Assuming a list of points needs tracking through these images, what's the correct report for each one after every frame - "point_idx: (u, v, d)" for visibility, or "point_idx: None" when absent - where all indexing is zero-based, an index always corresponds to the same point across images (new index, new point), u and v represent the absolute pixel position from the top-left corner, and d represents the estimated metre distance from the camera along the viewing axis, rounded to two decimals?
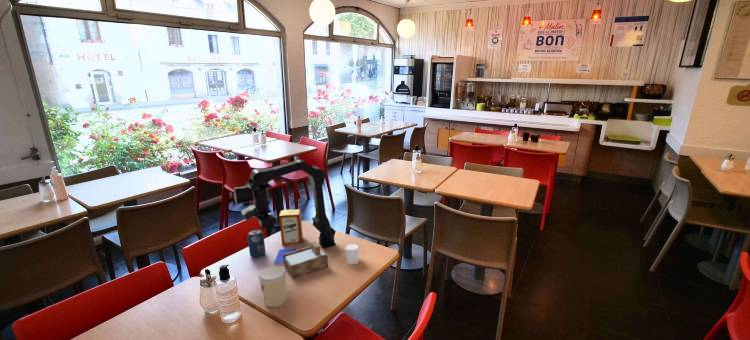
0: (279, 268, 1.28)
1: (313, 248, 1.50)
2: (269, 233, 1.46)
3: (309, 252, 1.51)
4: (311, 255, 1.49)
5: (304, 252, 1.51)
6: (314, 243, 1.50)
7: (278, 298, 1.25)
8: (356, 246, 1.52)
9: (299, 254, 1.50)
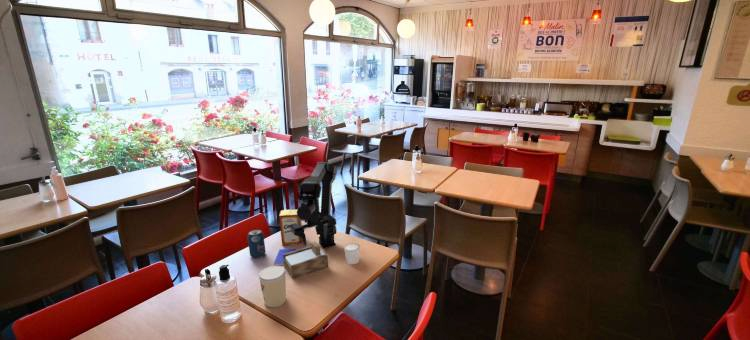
0: (279, 268, 1.28)
1: (313, 248, 1.50)
2: (303, 243, 1.46)
3: (309, 252, 1.51)
4: (311, 255, 1.49)
5: (304, 252, 1.51)
6: (314, 243, 1.50)
7: (278, 298, 1.25)
8: (356, 246, 1.52)
9: (299, 254, 1.50)
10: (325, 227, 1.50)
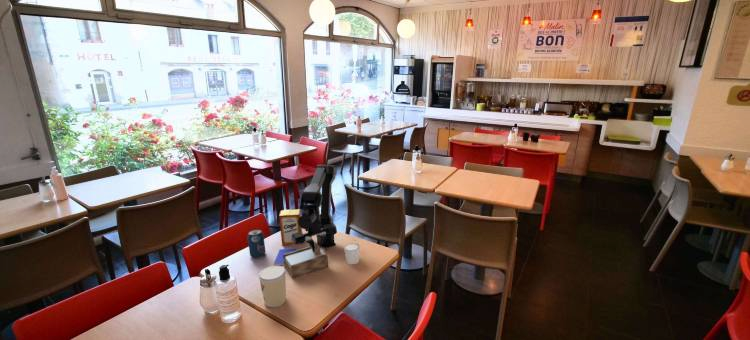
0: (279, 268, 1.28)
1: None
2: (312, 249, 1.49)
3: (309, 252, 1.51)
4: (311, 255, 1.49)
5: (304, 252, 1.51)
6: (314, 243, 1.50)
7: (278, 298, 1.25)
8: (356, 246, 1.52)
9: (299, 254, 1.50)
10: (318, 238, 1.49)
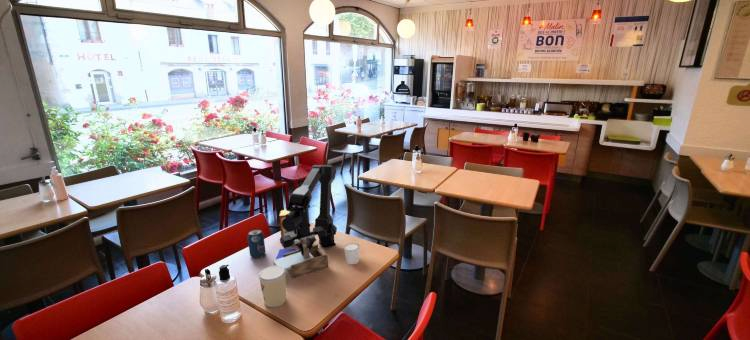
0: (279, 268, 1.28)
1: None
2: (301, 252, 1.46)
3: (298, 255, 1.48)
4: (300, 258, 1.46)
5: (293, 255, 1.49)
6: (303, 246, 1.48)
7: (278, 298, 1.25)
8: (356, 246, 1.52)
9: (288, 258, 1.47)
10: (308, 241, 1.47)
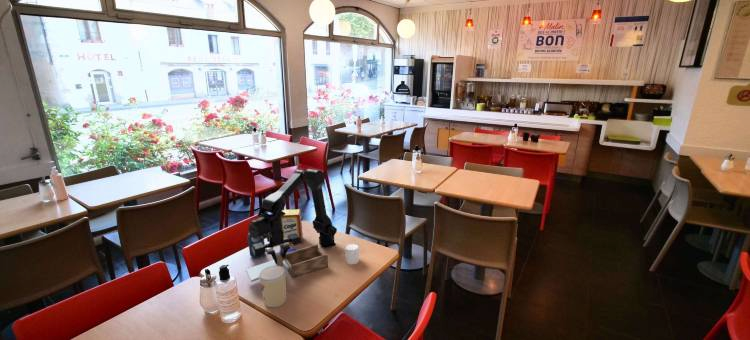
0: (279, 268, 1.28)
1: None
2: None
3: (272, 264, 1.43)
4: None
5: (267, 264, 1.43)
6: (277, 254, 1.42)
7: (278, 298, 1.25)
8: (356, 246, 1.52)
9: (261, 266, 1.41)
10: (281, 248, 1.41)
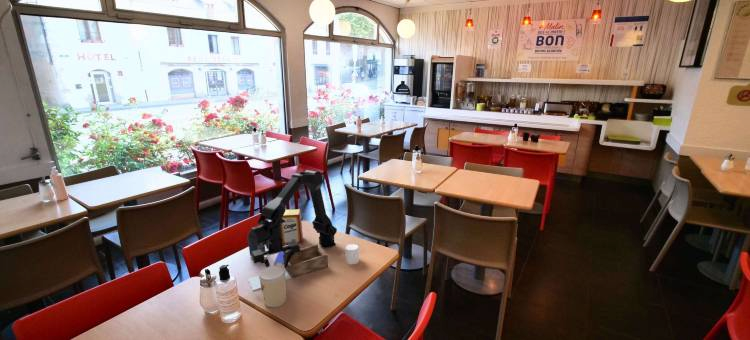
0: (279, 268, 1.28)
1: None
2: None
3: None
4: None
5: None
6: (279, 265, 1.44)
7: (278, 298, 1.25)
8: (356, 246, 1.52)
9: None
10: (285, 254, 1.43)
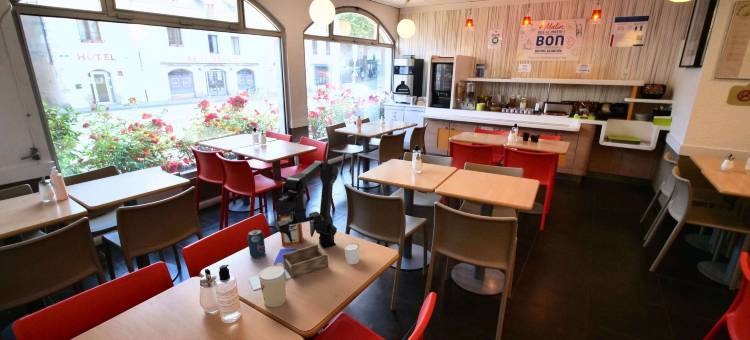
0: (279, 268, 1.28)
1: None
2: (289, 240, 1.45)
3: None
4: None
5: None
6: (279, 264, 1.44)
7: (278, 298, 1.25)
8: (356, 246, 1.52)
9: None
10: (311, 224, 1.49)
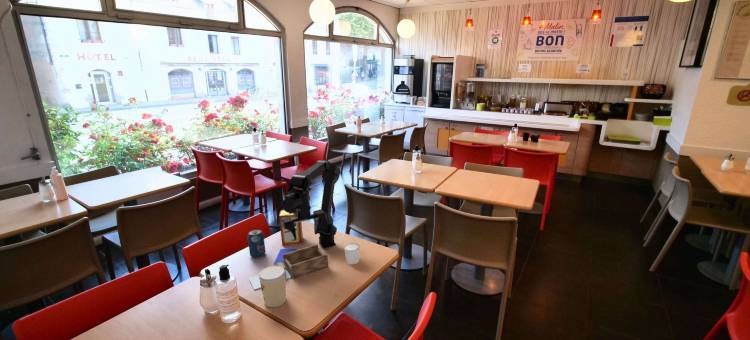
0: (279, 268, 1.28)
1: None
2: None
3: None
4: None
5: None
6: (280, 264, 1.44)
7: (278, 298, 1.25)
8: (356, 246, 1.52)
9: None
10: (315, 221, 1.50)
